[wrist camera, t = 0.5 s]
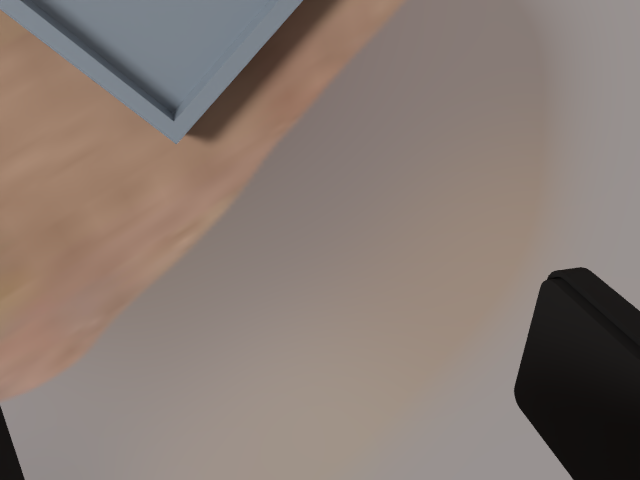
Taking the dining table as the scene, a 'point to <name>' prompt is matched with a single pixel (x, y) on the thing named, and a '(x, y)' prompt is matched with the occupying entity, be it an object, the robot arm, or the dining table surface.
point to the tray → (156, 48)
